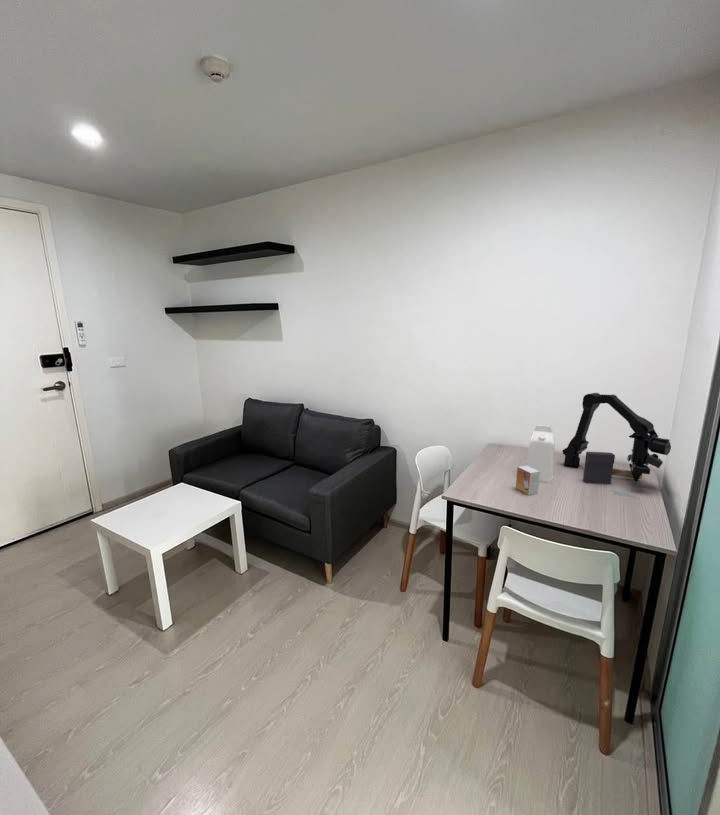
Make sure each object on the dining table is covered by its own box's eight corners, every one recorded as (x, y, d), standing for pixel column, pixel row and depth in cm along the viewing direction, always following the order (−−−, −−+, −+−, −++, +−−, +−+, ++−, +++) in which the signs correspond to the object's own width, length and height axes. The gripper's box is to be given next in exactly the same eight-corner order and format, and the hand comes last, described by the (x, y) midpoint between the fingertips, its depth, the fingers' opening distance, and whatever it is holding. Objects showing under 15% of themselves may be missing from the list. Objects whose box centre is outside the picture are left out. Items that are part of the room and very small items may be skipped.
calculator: (607, 482, 188) (611, 452, 184) (611, 486, 183) (615, 455, 180) (582, 480, 190) (585, 450, 186) (585, 484, 185) (589, 453, 182)
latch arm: (584, 475, 195) (585, 465, 194) (584, 473, 197) (585, 463, 196) (641, 483, 185) (642, 473, 184) (640, 481, 187) (641, 471, 186)
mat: (614, 495, 174) (614, 494, 174) (611, 484, 185) (611, 483, 185) (638, 499, 170) (638, 498, 170) (634, 487, 181) (634, 487, 181)
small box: (515, 488, 182) (517, 466, 179) (524, 486, 184) (526, 465, 181) (528, 495, 174) (530, 472, 172) (538, 493, 176) (540, 471, 174)
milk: (552, 475, 197) (558, 424, 192) (552, 483, 187) (557, 430, 182) (526, 471, 202) (531, 421, 197) (524, 479, 192) (528, 427, 187)
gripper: (667, 457, 167) (661, 492, 170) (658, 445, 183) (653, 477, 186) (635, 454, 172) (630, 487, 175) (629, 442, 188) (625, 473, 191)
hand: (635, 481), depth 182 cm, fingers closed
